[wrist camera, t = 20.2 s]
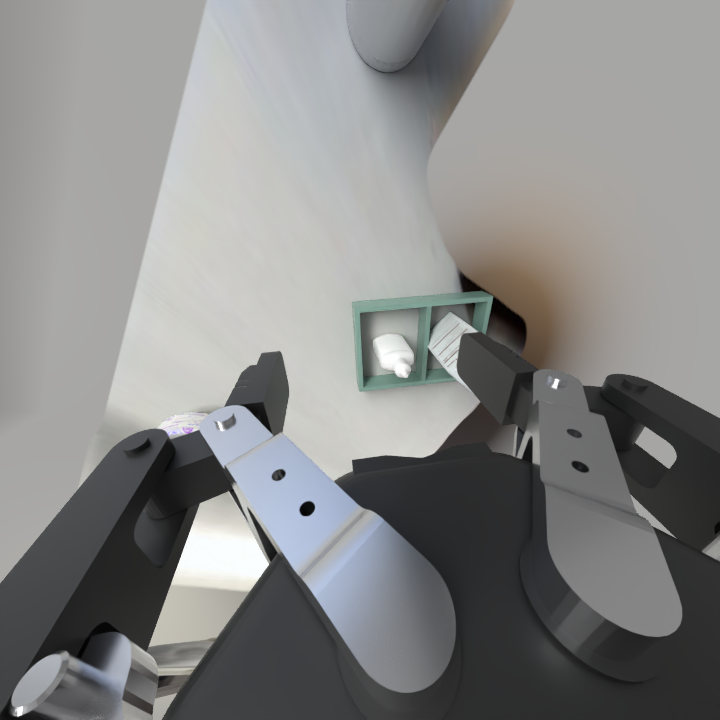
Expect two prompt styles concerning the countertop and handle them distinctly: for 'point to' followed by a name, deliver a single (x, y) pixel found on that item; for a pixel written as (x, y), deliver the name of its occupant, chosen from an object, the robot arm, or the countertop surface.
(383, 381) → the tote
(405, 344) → the eye dropper bottle
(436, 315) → the countertop surface
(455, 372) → the supplement box
